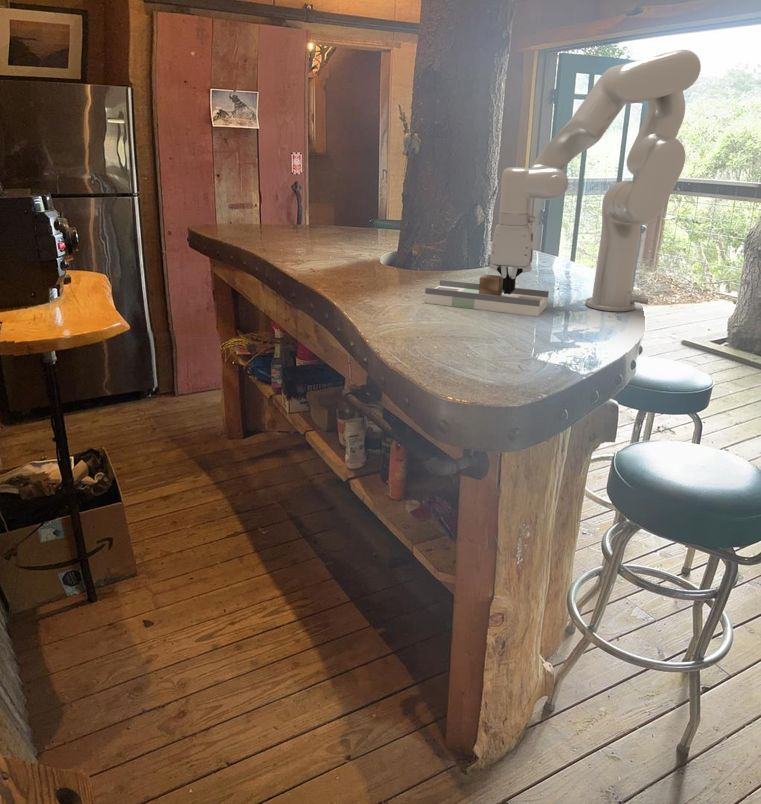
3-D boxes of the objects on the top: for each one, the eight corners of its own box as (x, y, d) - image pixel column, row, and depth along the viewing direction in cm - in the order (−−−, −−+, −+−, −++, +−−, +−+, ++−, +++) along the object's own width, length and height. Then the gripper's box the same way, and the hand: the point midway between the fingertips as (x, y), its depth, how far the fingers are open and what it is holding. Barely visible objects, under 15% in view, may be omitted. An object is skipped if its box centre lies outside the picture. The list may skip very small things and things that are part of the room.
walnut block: (501, 294, 172) (503, 275, 170) (497, 298, 168) (498, 279, 166) (483, 292, 174) (484, 274, 172) (478, 296, 169) (479, 277, 168)
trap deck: (547, 306, 172) (548, 291, 170) (538, 316, 161) (539, 300, 160) (439, 294, 183) (440, 279, 181) (424, 302, 172) (425, 287, 171)
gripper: (547, 220, 162) (539, 292, 169) (488, 217, 167) (483, 287, 174) (541, 223, 156) (534, 299, 163) (481, 220, 161) (476, 293, 168)
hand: (508, 293), depth 168 cm, fingers closed
